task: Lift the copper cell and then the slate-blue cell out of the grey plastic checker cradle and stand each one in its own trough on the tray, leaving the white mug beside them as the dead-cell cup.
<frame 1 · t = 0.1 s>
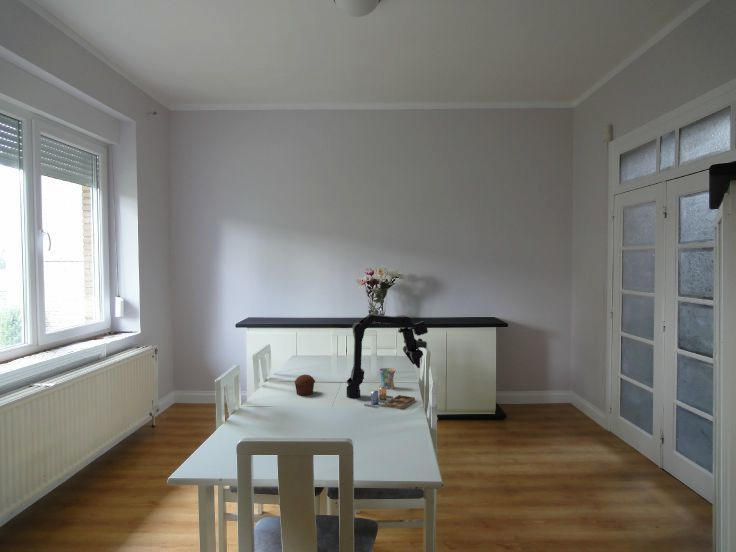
hand: (416, 366, 245), 15 cm above the table, tool pointing down, fingers open, 9 cm apart
tray: (400, 405, 229), on the table
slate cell: (374, 404, 228), point 1 cm above the table, touching cradle
copper cell: (382, 399, 235), point 1 cm above the table, touching cradle
mug: (387, 389, 257), on the table
muffin: (304, 393, 250), on the table
cradle: (378, 403, 231), on the table
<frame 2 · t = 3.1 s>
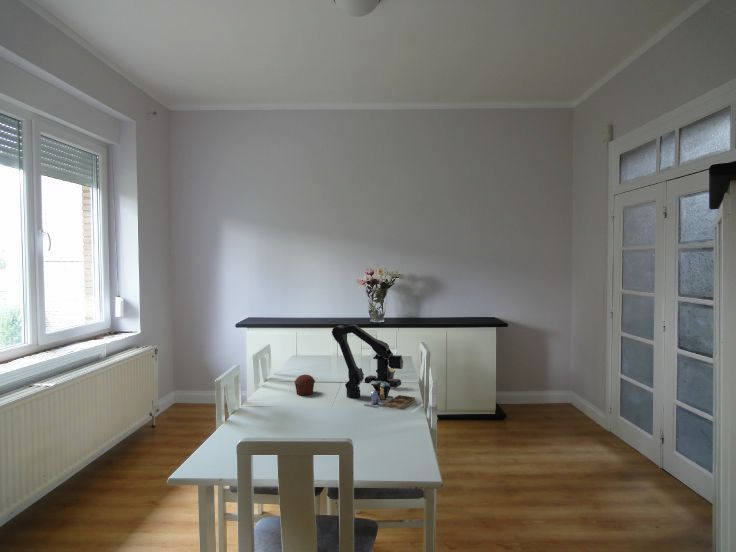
hand: (382, 397, 235), 2 cm above the table, tool pointing down, fingers closed on copper cell, 4 cm apart
copper cell: (382, 399, 235), point 1 cm above the table, touching cradle, gripper
everything else where it was.
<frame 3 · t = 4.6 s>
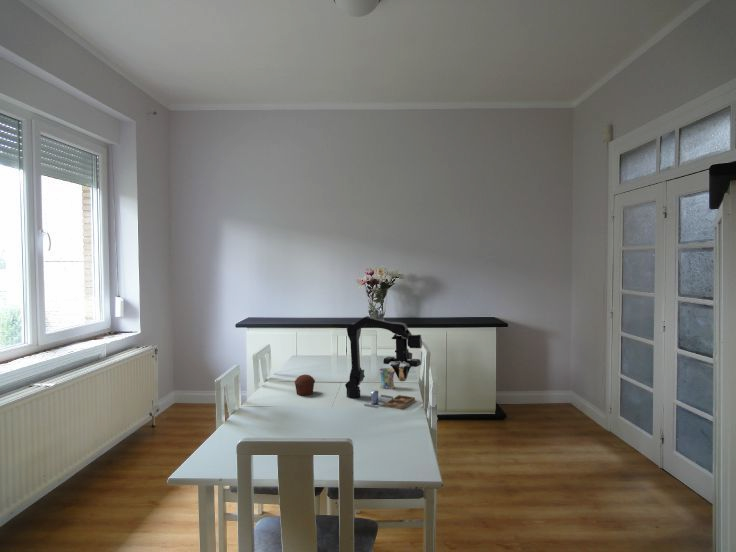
hand: (402, 378, 232), 13 cm above the table, tool pointing down, fingers closed on copper cell, 4 cm apart
copper cell: (402, 380, 232), point 12 cm above the table, touching gripper
everything else where it was.
when the fingers open (3 cm above the table, at t = 6.5 s): copper cell drops 1 cm, resting on tray.
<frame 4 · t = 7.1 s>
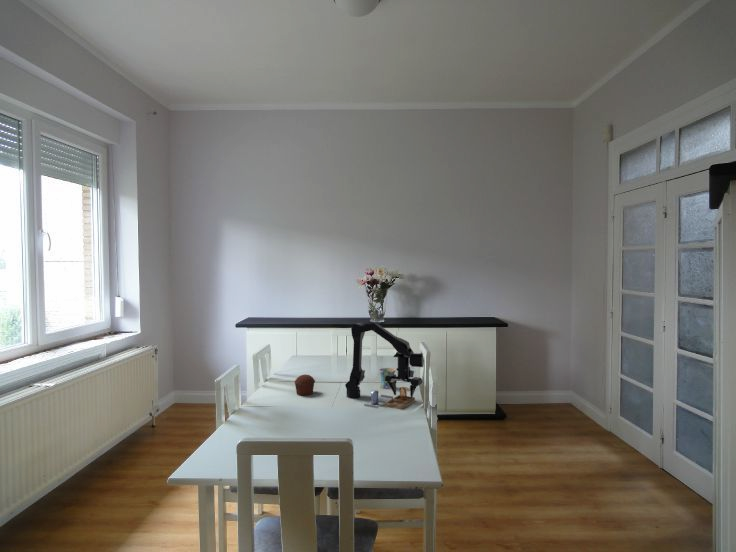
hand: (403, 396, 232), 3 cm above the table, tool pointing down, fingers open, 9 cm apart
copper cell: (403, 400, 232), point 1 cm above the table, touching tray
everything else where it was.
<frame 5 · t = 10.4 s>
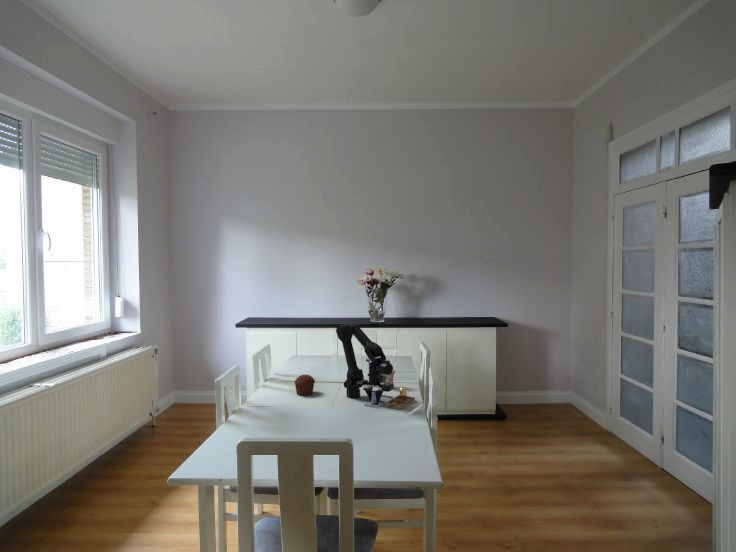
hand: (374, 402, 227), 2 cm above the table, tool pointing down, fingers closed on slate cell, 4 cm apart
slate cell: (374, 404, 228), point 1 cm above the table, touching cradle, gripper
everything else where it was.
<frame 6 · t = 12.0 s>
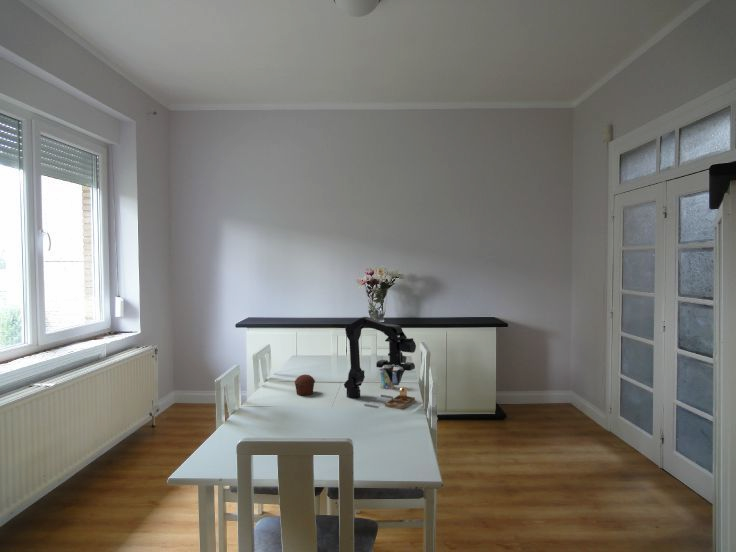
hand: (395, 382, 225), 12 cm above the table, tool pointing down, fingers closed on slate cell, 4 cm apart
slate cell: (395, 384, 225), point 11 cm above the table, touching gripper
everything else where it was.
when the fingers open (3 cm above the table, at t = 13.9 s): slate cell drops 1 cm, resting on tray.
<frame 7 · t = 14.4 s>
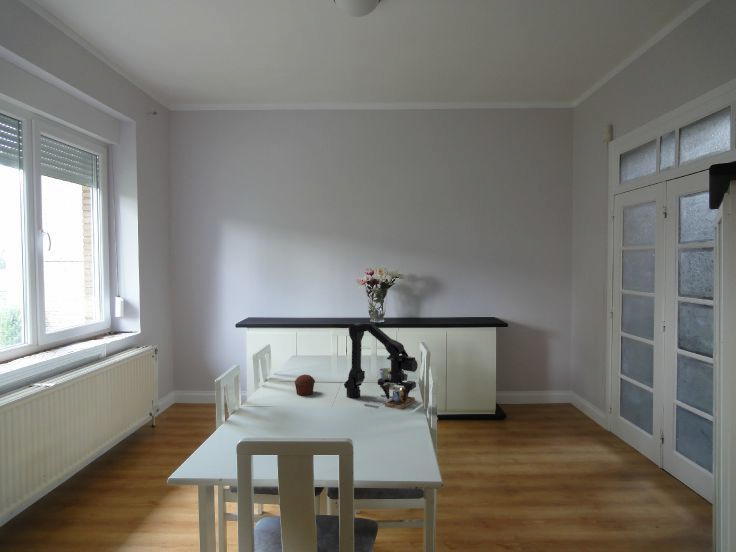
hand: (396, 400, 225), 3 cm above the table, tool pointing down, fingers open, 9 cm apart
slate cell: (396, 404, 225), point 1 cm above the table, touching tray
everything else where it was.
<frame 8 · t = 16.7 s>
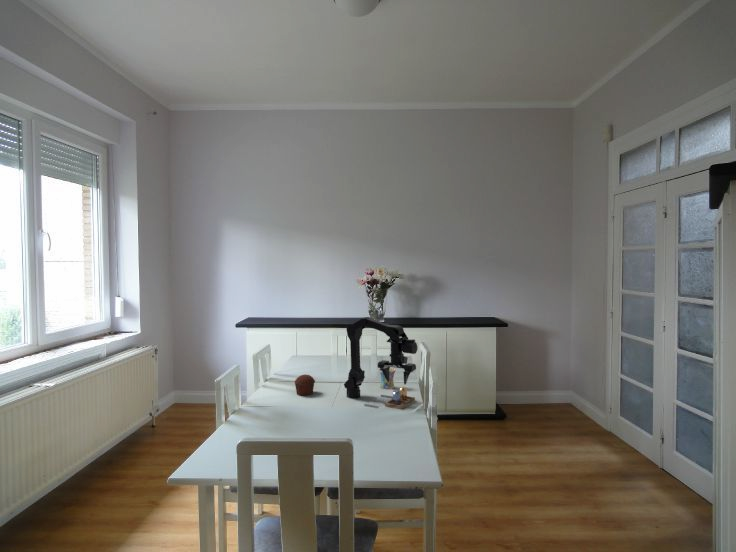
hand: (396, 383, 225), 12 cm above the table, tool pointing down, fingers open, 9 cm apart
nothing on the table moved.
at the end: copper cell inside the target area on the tray (0.2 cm from its centre), point 1.2 cm above the tray's base; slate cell inside the target area on the tray (0.1 cm from its centre), point 1.2 cm above the tray's base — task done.
